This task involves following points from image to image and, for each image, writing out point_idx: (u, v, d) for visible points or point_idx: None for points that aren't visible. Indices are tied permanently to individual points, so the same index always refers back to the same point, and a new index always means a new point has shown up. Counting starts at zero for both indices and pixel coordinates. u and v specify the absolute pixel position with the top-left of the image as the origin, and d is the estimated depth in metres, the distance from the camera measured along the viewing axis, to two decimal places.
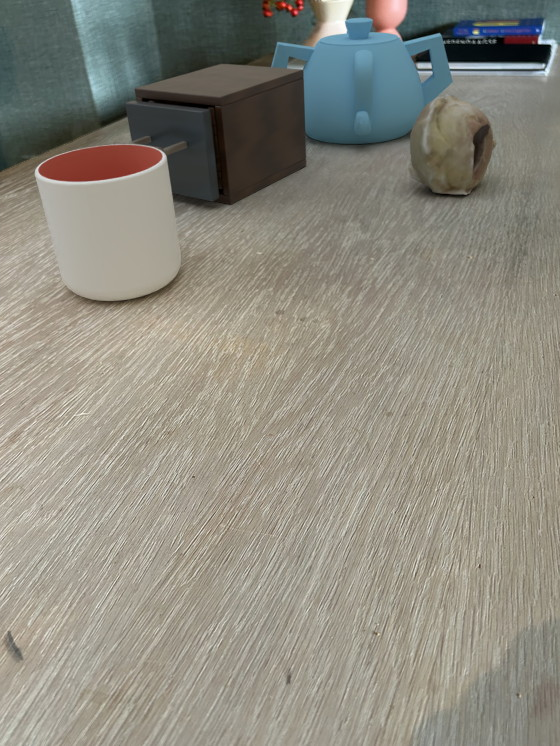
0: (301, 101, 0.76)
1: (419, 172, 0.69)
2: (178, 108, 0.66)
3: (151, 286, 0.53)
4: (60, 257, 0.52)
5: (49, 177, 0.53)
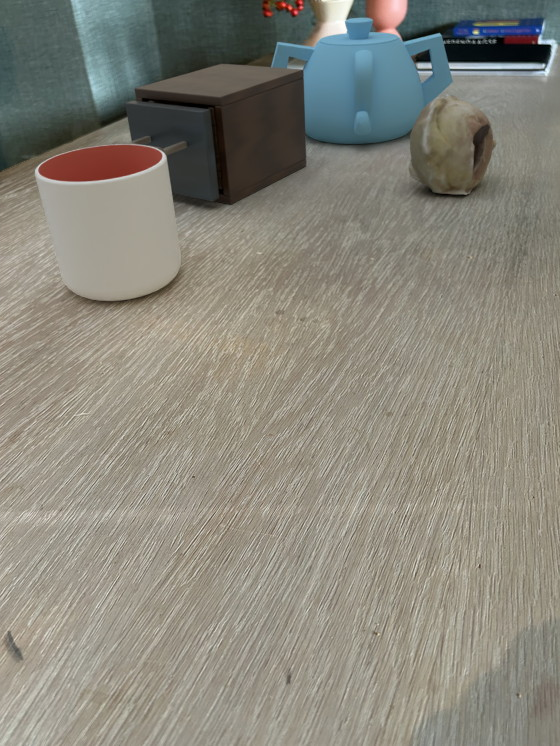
0: (301, 101, 0.76)
1: (419, 172, 0.69)
2: (178, 108, 0.66)
3: (151, 286, 0.53)
4: (60, 257, 0.52)
5: (49, 177, 0.53)
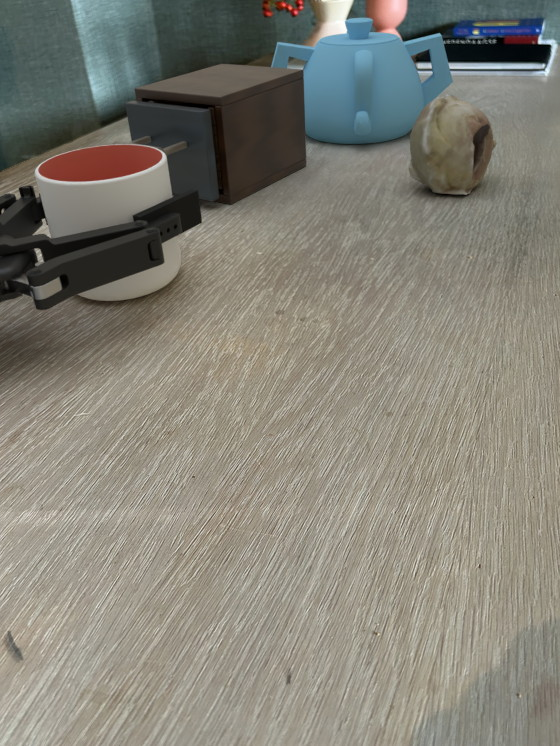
0: (301, 101, 0.76)
1: (419, 172, 0.69)
2: (178, 108, 0.66)
3: (151, 286, 0.53)
4: None
5: (49, 177, 0.53)
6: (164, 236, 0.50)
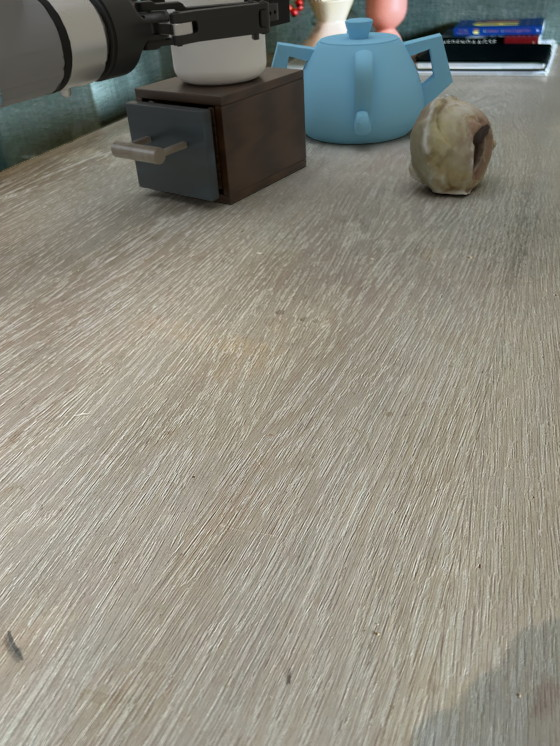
0: (301, 101, 0.76)
1: (419, 172, 0.69)
2: (178, 108, 0.66)
3: (247, 72, 0.69)
4: (178, 47, 0.68)
5: None
6: None
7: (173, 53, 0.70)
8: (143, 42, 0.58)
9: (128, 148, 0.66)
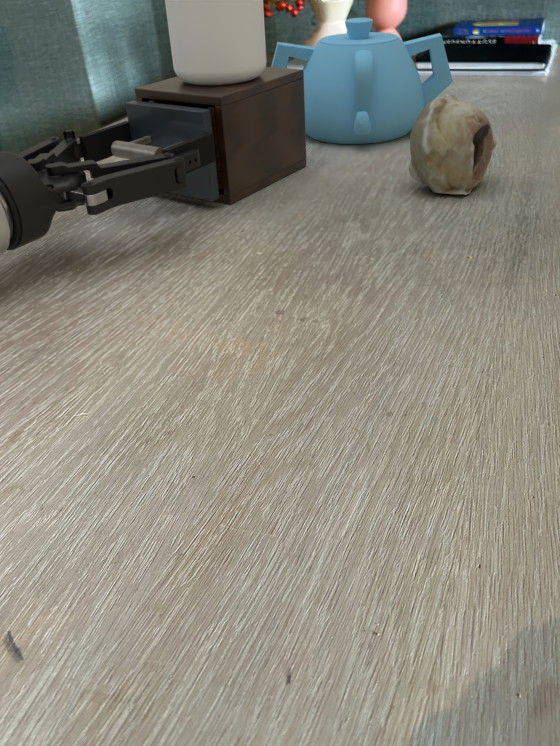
0: (301, 101, 0.76)
1: (419, 172, 0.69)
2: (178, 108, 0.66)
3: (247, 72, 0.69)
4: (178, 47, 0.68)
5: None
6: (186, 167, 0.62)
7: (173, 53, 0.70)
8: (52, 212, 0.56)
9: (128, 148, 0.66)
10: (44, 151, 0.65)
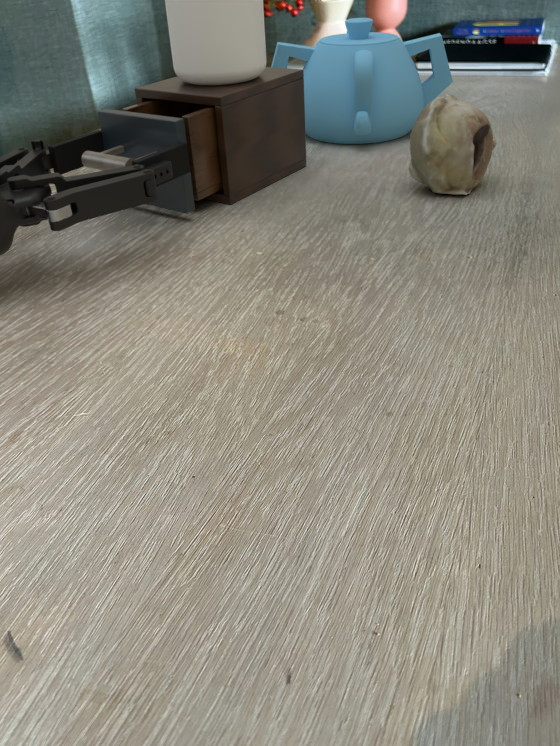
0: (301, 101, 0.76)
1: (419, 172, 0.69)
2: (151, 117, 0.64)
3: (247, 72, 0.69)
4: (178, 47, 0.68)
5: None
6: (158, 179, 0.59)
7: (173, 53, 0.70)
8: (13, 228, 0.53)
9: (99, 159, 0.63)
10: (11, 162, 0.63)
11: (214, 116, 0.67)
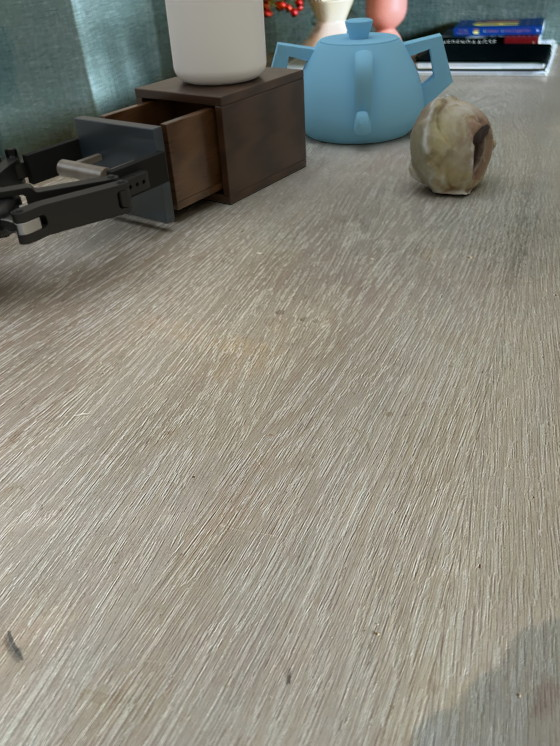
0: (301, 101, 0.76)
1: (419, 172, 0.69)
2: (128, 125, 0.62)
3: (247, 72, 0.69)
4: (178, 47, 0.68)
5: None
6: (133, 189, 0.57)
7: (173, 53, 0.70)
8: None
9: (74, 168, 0.61)
10: None
11: (194, 123, 0.65)
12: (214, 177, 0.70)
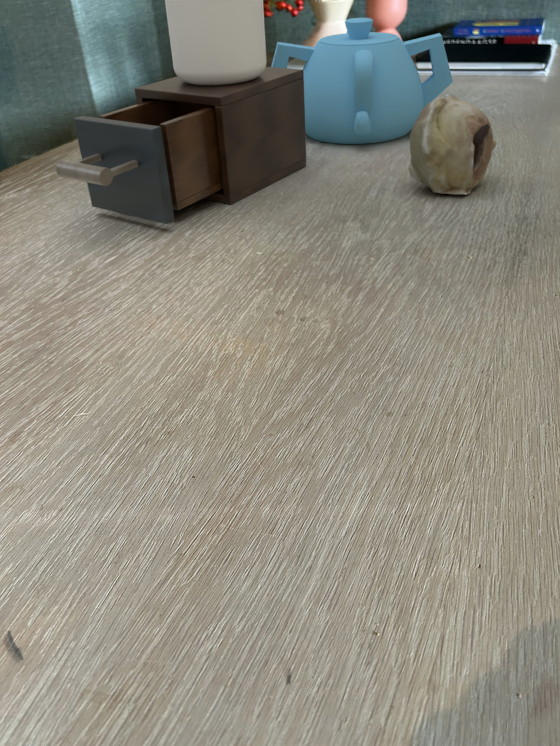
0: (301, 101, 0.76)
1: (419, 172, 0.69)
2: (127, 125, 0.62)
3: (247, 72, 0.69)
4: (178, 47, 0.68)
5: None
6: None
7: (173, 53, 0.70)
8: None
9: (73, 168, 0.61)
10: None
11: (194, 124, 0.65)
12: (214, 177, 0.70)
